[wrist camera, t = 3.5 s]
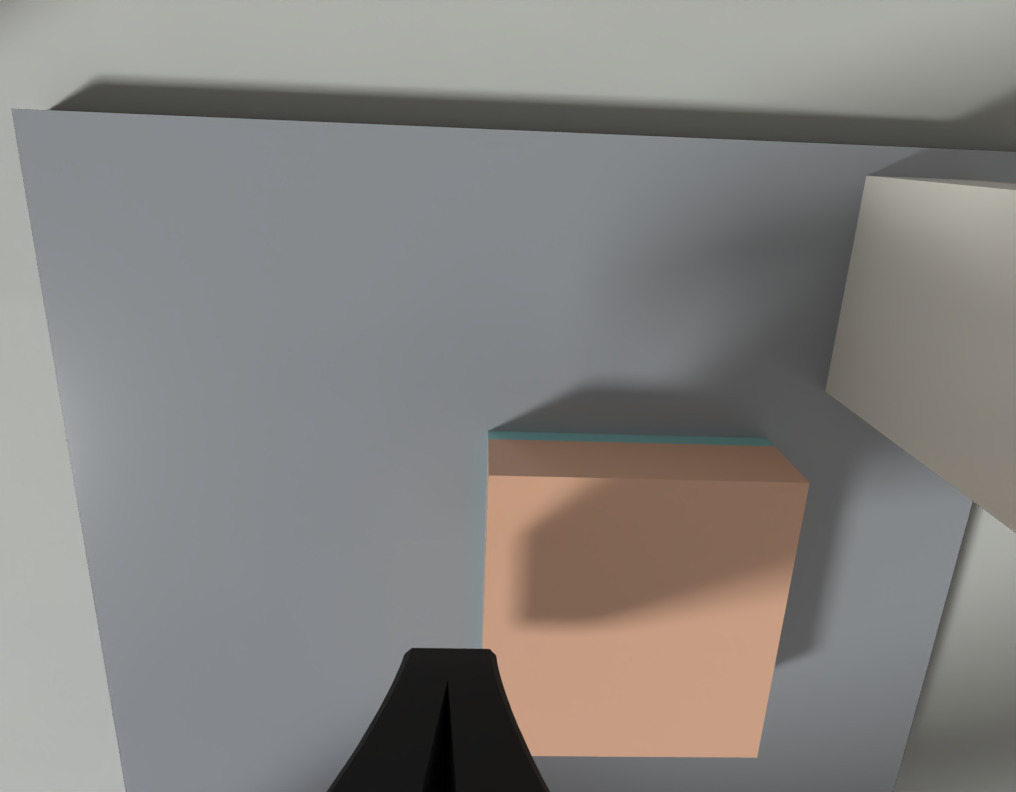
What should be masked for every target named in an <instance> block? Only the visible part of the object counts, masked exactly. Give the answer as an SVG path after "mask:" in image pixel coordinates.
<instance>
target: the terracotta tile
mask: <svg viewBox="0 0 1016 792" xmlns="http://www.w3.org/2000/svg"><path fill="white" fill-rule="evenodd" d="M809 484H810V483H809V482H808V481H807V480H806V478H805V477H804V476H803V475H802V474H801V473H800V472H799V471H798V470H797V469H796V468H795V467H794V466H793V465H792V464H791V463H790V462H789V461H788V459H787V458H786V457H785V456H784V455H783V454H782V453H781V452H780V451H779V450H778V449H777V448H776V447H775V446H774V445H773V444H772V443H771V441H770V440H769V439H768V438H739V437H699V436H660V435H621V434H582V433H543V432H504V431H488V445H487V475H486V505H485V535H484V565H483V595H482V624H481V649H490V650H491V651H492V652H493V653H494V654H495V655H496V657H497V664H498V668H499V672H500V676H501V680H502V683H503V686H504V689H505V693H506V695H507V698H508V701H509V704H510V706H511V709H512V712H513V714H514V717H515V719H516V722H517V724H518V727H519V729H520V731H521V733H522V735H523V738H524V740H525V742H526V744H527V746H528V749H529V751H530V753H531V755H532V756H598V757H741V758H757V756H758V750H759V745H760V740H761V735H762V729H763V724H764V719H765V714H766V709H767V703H768V698H769V693H770V688H771V682H772V677H773V672H774V667H775V661H776V656H777V651H778V646H779V641H780V635H781V630H782V625H783V620H784V614H785V609H786V604H787V599H788V593H789V588H790V583H791V578H792V573H793V567H794V562H795V557H796V552H797V546H798V541H799V536H800V531H801V525H802V520H803V515H804V510H805V505H806V499H807V494H808V489H809Z"/></svg>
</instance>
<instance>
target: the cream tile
mask: <svg viewBox="0 0 1016 792" xmlns="http://www.w3.org/2000/svg"><path fill="white" fill-rule="evenodd" d="M825 392H827V393H828V394H829V395H831V396H832V397H833V398H835V399H836V400H837V401H839V402H840V403H841V404H843V405H844V406H845V407H847V408H848V409H849V410H851V411H852V412H853V413H855V414H856V415H858V416H859V417H860V418H862V419H863V420H864V421H866V422H867V423H868V424H870V425H871V426H872V427H874V428H875V429H876V430H878V431H879V432H880V433H882V434H883V435H885V436H886V437H887V438H889V439H890V440H891V441H893V442H894V443H895V444H897V445H898V446H899V447H901V448H902V449H903V450H905V451H906V452H907V453H909V454H910V455H911V456H913V457H914V458H916V459H917V460H918V461H920V462H921V463H922V464H924V465H925V466H926V467H928V468H929V469H930V470H932V471H933V472H934V473H936V474H937V475H938V476H940V477H941V478H942V479H944V480H945V481H947V482H948V483H949V484H951V485H952V486H953V487H955V488H956V489H957V490H959V491H960V492H961V493H963V494H964V495H965V496H967V497H968V498H969V499H971V500H972V501H973V502H975V503H976V504H978V505H979V506H980V507H982V508H983V509H984V510H986V511H987V512H988V513H990V514H991V515H992V516H994V517H995V518H996V519H998V520H999V521H1000V522H1002V523H1003V524H1004V525H1006V526H1007V527H1009V528H1010V529H1011V530H1013V531H1014V532H1015V533H1016V183H1005V182H993V181H981V180H961V179H937V178H912V177H888V176H866V180H865V185H864V190H863V196H862V201H861V206H860V211H859V217H858V222H857V227H856V232H855V238H854V243H853V248H852V254H851V259H850V264H849V269H848V275H847V280H846V285H845V290H844V296H843V301H842V306H841V311H840V317H839V322H838V327H837V332H836V338H835V343H834V348H833V353H832V359H831V364H830V369H829V374H828V380H827V385H826V390H825Z"/></svg>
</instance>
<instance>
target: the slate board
mask: <svg viewBox="0 0 1016 792" xmlns="http://www.w3.org/2000/svg"><path fill="white" fill-rule="evenodd" d="M12 115H13V121H14V127H15V133H16V139H17V145H18V151H19V157H20V163H21V169H22V175H23V181H24V187H25V193H26V199H27V205H28V211H29V217H30V223H31V229H32V235H33V241H34V246H35V252H36V258H37V264H38V270H39V276H40V282H41V288H42V294H43V300H44V306H45V312H46V318H47V324H48V330H49V336H50V342H51V348H52V354H53V360H54V366H55V372H56V378H57V384H58V390H59V396H60V402H61V408H62V414H63V420H64V426H65V432H66V438H67V443H68V449H69V455H70V461H71V467H72V473H73V479H74V485H75V491H76V497H77V503H78V509H79V515H80V521H81V527H82V533H83V539H84V545H85V551H86V557H87V563H88V569H89V575H90V581H91V587H92V593H93V599H94V605H95V611H96V617H97V623H98V629H99V635H100V640H101V646H102V652H103V658H104V664H105V670H106V676H107V682H108V688H109V694H110V700H111V706H112V712H113V718H114V724H115V730H116V736H117V742H118V748H119V754H120V760H121V766H122V772H123V778H124V784H125V790H126V792H327V790H328V789H329V787H330V786H331V784H332V783H333V782H334V780H335V779H336V777H337V776H338V774H339V773H340V771H341V770H342V768H343V767H344V765H345V764H346V762H347V761H348V759H349V758H350V757H351V755H352V753H353V752H354V750H355V749H356V747H357V746H358V744H359V742H360V740H361V739H362V737H363V735H364V734H365V732H366V730H367V729H368V727H369V725H370V724H371V722H372V720H373V718H374V717H375V715H376V713H377V712H378V710H379V708H380V706H381V704H382V702H383V700H384V699H385V697H386V695H387V693H388V691H389V689H390V687H391V685H392V683H393V681H394V679H395V676H396V674H397V672H398V669H399V667H400V665H401V662H402V659H403V656H404V654H405V653H406V652H407V651H408V650H410V649H411V648H466V649H481V624H482V595H483V565H484V535H485V505H486V475H487V445H488V431H504V432H543V433H582V434H621V435H660V436H699V437H739V438H768V439H769V440H770V441H771V443H772V444H773V445H774V446H775V447H776V448H777V449H778V450H779V451H780V452H781V453H782V454H783V455H784V456H785V457H786V458H787V459H788V461H789V462H790V463H791V464H792V465H793V466H794V467H795V468H796V469H797V470H798V471H799V472H800V473H801V474H802V475H803V476H804V477H805V478H806V480H807V481H808V482H809V483H810V484H809V489H808V494H807V499H806V505H805V510H804V515H803V520H802V525H801V531H800V536H799V541H798V546H797V552H796V557H795V562H794V567H793V573H792V578H791V583H790V588H789V593H788V599H787V604H786V609H785V614H784V620H783V625H782V630H781V635H780V641H779V646H778V651H777V656H776V661H775V667H774V672H773V677H772V682H771V688H770V693H769V698H768V703H767V709H766V714H765V719H764V724H763V729H762V735H761V740H760V745H759V750H758V756H757V758H741V757H598V756H532V758H533V760H534V762H535V764H536V766H537V768H538V770H539V772H540V774H541V776H542V777H543V779H544V781H545V783H546V785H547V787H548V789H549V791H550V792H893V791H894V788H895V784H896V780H897V777H898V773H899V769H900V766H901V762H902V758H903V755H904V751H905V747H906V744H907V740H908V736H909V733H910V729H911V725H912V722H913V718H914V714H915V711H916V707H917V703H918V700H919V696H920V692H921V689H922V685H923V681H924V678H925V674H926V670H927V667H928V663H929V659H930V656H931V652H932V648H933V645H934V641H935V637H936V634H937V630H938V626H939V623H940V619H941V615H942V612H943V608H944V605H945V601H946V597H947V594H948V590H949V586H950V583H951V579H952V575H953V572H954V568H955V564H956V561H957V557H958V553H959V550H960V546H961V542H962V539H963V535H964V531H965V528H966V524H967V520H968V517H969V513H970V509H971V506H972V502H973V501H972V500H971V499H969V498H968V497H967V496H965V495H964V494H963V493H961V492H960V491H959V490H957V489H956V488H955V487H953V486H952V485H951V484H949V483H948V482H947V481H945V480H944V479H942V478H941V477H940V476H938V475H937V474H936V473H934V472H933V471H932V470H930V469H929V468H928V467H926V466H925V465H924V464H922V463H921V462H920V461H918V460H917V459H916V458H914V457H913V456H911V455H910V454H909V453H907V452H906V451H905V450H903V449H902V448H901V447H899V446H898V445H897V444H895V443H894V442H893V441H891V440H890V439H889V438H887V437H886V436H885V435H883V434H882V433H880V432H879V431H878V430H876V429H875V428H874V427H872V426H871V425H870V424H868V423H867V422H866V421H864V420H863V419H862V418H860V417H859V416H858V415H856V414H855V413H853V412H852V411H851V410H849V409H848V408H847V407H845V406H844V405H843V404H841V403H840V402H839V401H837V400H836V399H835V398H833V397H832V396H831V395H829V394H828V393H827V392H825V390H826V385H827V380H828V374H829V369H830V364H831V359H832V353H833V348H834V343H835V338H836V332H837V327H838V322H839V317H840V311H841V306H842V301H843V296H844V290H845V285H846V280H847V275H848V269H849V264H850V259H851V254H852V248H853V243H854V238H855V232H856V227H857V222H858V217H859V211H860V206H861V201H862V196H863V190H864V185H865V180H866V176H888V177H912V178H937V179H961V180H981V181H993V182H1005V183H1016V152H1012V151H989V150H965V149H942V148H918V147H895V146H872V145H848V144H825V143H802V142H778V141H755V140H732V139H708V138H685V137H662V136H638V135H615V134H591V133H568V132H545V131H521V130H498V129H475V128H451V127H428V126H405V125H381V124H358V123H335V122H311V121H288V120H264V119H241V118H218V117H194V116H171V115H148V114H124V113H101V112H78V111H54V110H31V109H12Z"/></svg>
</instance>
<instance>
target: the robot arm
mask: <svg viewBox="0 0 1016 792" xmlns="http://www.w3.org/2000/svg"><path fill="white" fill-rule="evenodd" d="M327 792H550V791H549V789H548V787H547V785H546V783H545V781H544V779H543V777H542V776H541V774H540V772H539V770H538V768H537V766H536V764H535V762H534V760H533V758H532V755H531V753H530V751H529V749H528V746H527V744H526V742H525V740H524V738H523V735H522V733H521V731H520V729H519V727H518V724H517V722H516V719H515V717H514V714H513V712H512V709H511V706H510V704H509V701H508V698H507V695H506V693H505V689H504V686H503V683H502V680H501V676H500V672H499V668H498V664H497V657H496V655H495V654H494V653H493V652H492V651H491V650H490V649H466V648H411V649H410V650H408V651H407V652H406V653H405V654H404V656H403V659H402V662H401V665H400V667H399V669H398V672H397V674H396V676H395V679H394V681H393V683H392V685H391V687H390V689H389V691H388V693H387V695H386V697H385V699H384V700H383V702H382V704H381V706H380V708H379V710H378V712H377V713H376V715H375V717H374V718H373V720H372V722H371V724H370V725H369V727H368V729H367V730H366V732H365V734H364V735H363V737H362V739H361V740H360V742H359V744H358V746H357V747H356V749H355V750H354V752H353V753H352V755H351V757H350V758H349V759H348V761H347V762H346V764H345V765H344V767H343V768H342V770H341V771H340V773H339V774H338V776H337V777H336V779H335V780H334V782H333V783H332V784H331V786H330V787H329V789H328V790H327Z"/></svg>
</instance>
